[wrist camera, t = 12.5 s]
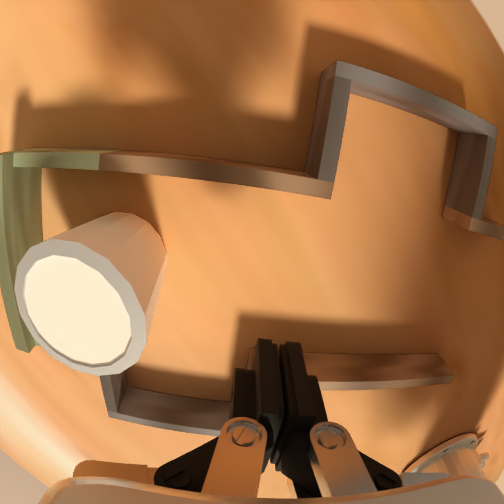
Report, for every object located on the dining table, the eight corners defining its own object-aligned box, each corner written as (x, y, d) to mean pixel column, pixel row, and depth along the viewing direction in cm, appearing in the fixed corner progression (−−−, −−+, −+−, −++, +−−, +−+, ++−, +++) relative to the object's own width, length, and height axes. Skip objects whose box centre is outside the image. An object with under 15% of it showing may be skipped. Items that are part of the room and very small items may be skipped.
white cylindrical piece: (185, 304, 19) (163, 381, 13) (90, 306, 19) (43, 371, 12) (169, 194, 17) (125, 231, 10) (66, 208, 17) (-4, 246, 10)
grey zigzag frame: (504, 145, 16) (542, 151, 12) (407, 406, 24) (422, 436, 20) (40, 61, 13) (2, 51, 9) (56, 373, 21) (37, 404, 18)
